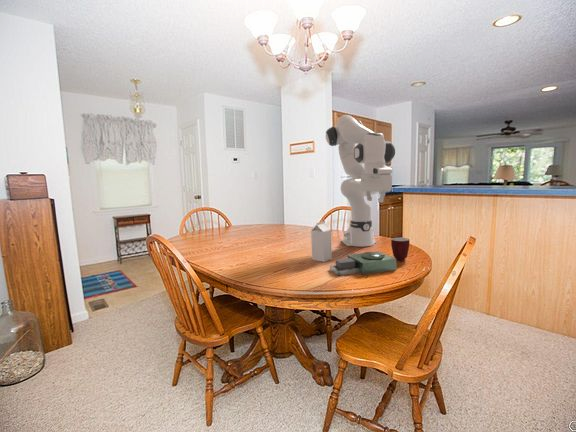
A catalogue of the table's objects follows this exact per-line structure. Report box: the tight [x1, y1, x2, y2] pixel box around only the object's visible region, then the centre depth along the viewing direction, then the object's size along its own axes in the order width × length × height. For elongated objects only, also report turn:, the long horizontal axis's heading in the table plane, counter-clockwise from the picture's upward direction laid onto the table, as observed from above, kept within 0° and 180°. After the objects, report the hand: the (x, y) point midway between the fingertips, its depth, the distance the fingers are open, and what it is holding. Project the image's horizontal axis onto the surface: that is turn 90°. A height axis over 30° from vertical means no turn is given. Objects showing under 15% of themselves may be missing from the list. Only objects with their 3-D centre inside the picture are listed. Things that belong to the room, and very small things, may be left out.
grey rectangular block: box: [334, 258, 355, 270], centre depth 131 cm, size 5×7×5 cm
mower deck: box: [329, 250, 397, 277], centre depth 133 cm, size 14×26×6 cm, turn 105°
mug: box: [390, 237, 410, 262], centre depth 142 cm, size 11×8×10 cm
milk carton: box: [310, 220, 333, 263], centre depth 150 cm, size 7×7×19 cm
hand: (375, 201), depth 135 cm, fingers open, 8 cm apart
